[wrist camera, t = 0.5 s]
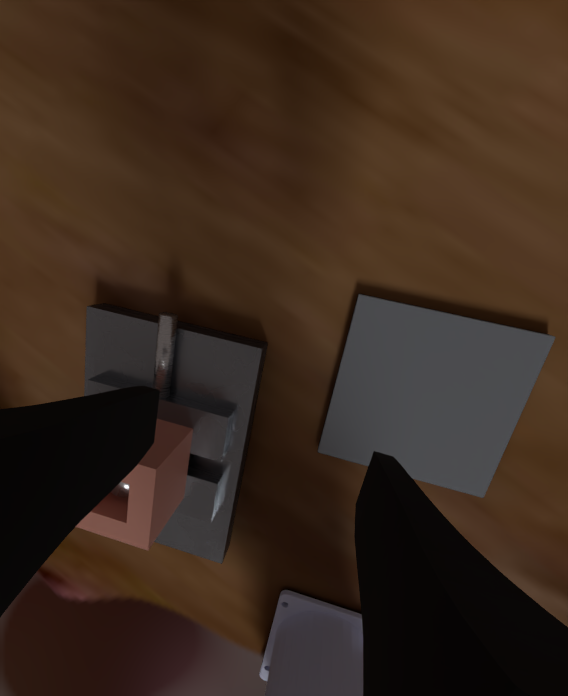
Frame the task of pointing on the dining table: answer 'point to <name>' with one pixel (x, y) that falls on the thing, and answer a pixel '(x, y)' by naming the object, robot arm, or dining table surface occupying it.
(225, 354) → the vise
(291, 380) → the dining table surface
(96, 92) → the dining table surface
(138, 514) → the collar block
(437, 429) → the mat
